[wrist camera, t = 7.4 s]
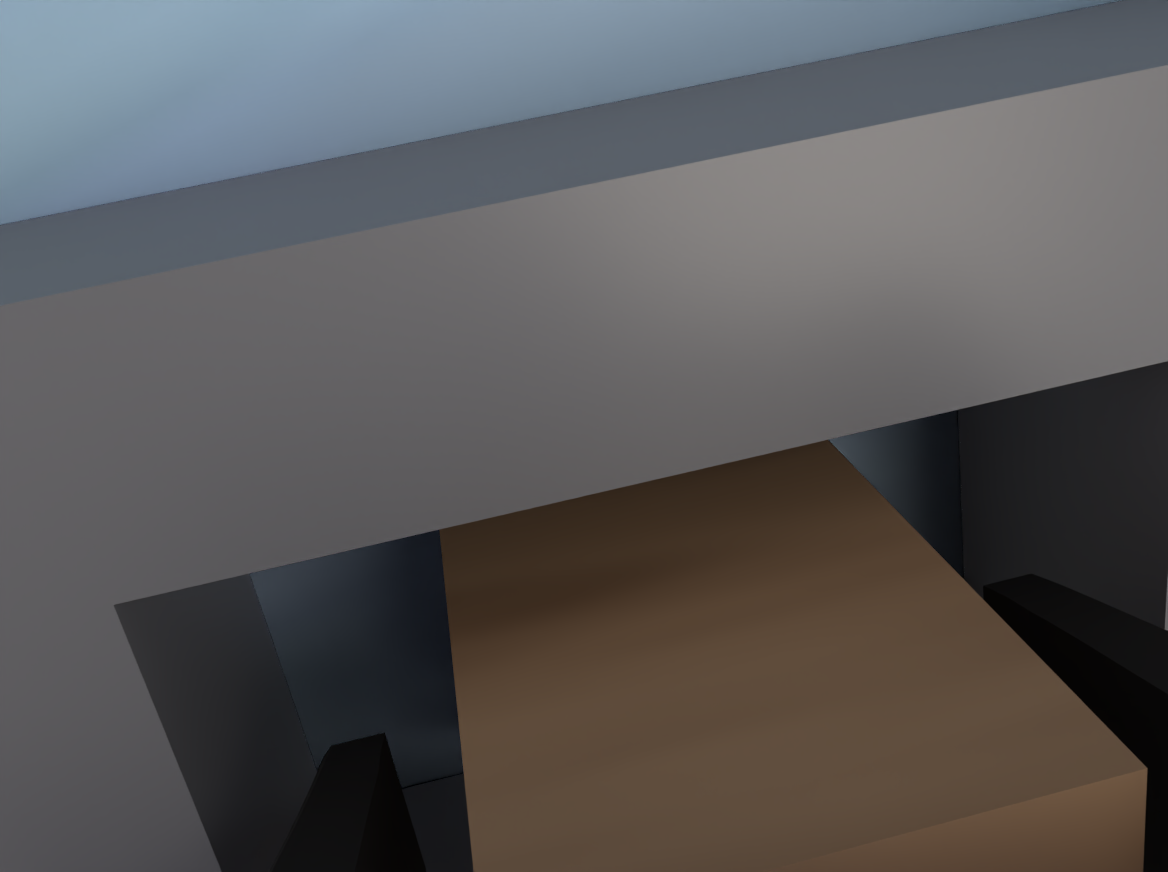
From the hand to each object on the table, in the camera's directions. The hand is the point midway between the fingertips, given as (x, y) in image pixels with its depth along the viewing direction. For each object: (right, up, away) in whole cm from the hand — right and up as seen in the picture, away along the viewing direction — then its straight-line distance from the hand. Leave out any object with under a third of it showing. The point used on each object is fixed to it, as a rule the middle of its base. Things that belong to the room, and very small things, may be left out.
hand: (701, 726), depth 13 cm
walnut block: (-1, +2, +4) cm, 5 cm away
